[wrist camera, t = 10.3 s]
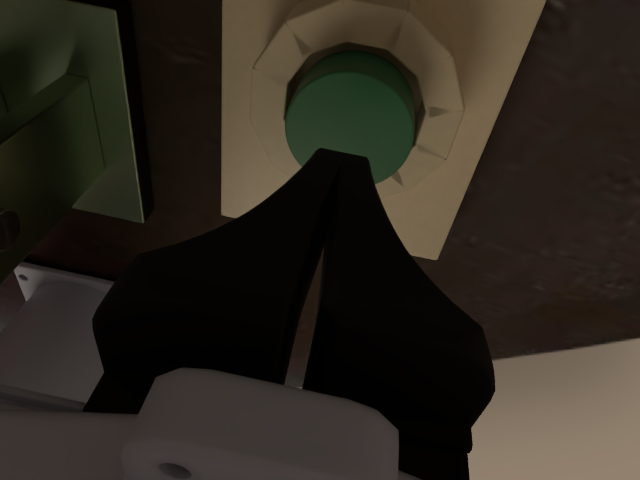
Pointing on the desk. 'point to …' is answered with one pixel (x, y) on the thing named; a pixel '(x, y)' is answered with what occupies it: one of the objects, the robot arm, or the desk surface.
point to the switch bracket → (68, 119)
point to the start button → (353, 111)
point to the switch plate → (402, 51)
